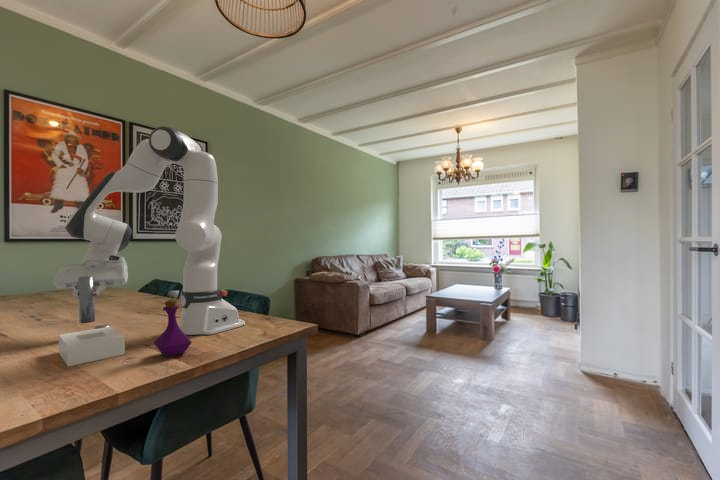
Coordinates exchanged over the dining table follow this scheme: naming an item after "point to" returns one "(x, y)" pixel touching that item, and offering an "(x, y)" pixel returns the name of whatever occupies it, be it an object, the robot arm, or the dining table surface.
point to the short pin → (102, 326)
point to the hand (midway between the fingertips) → (85, 295)
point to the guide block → (91, 345)
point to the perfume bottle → (172, 332)
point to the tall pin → (86, 299)
